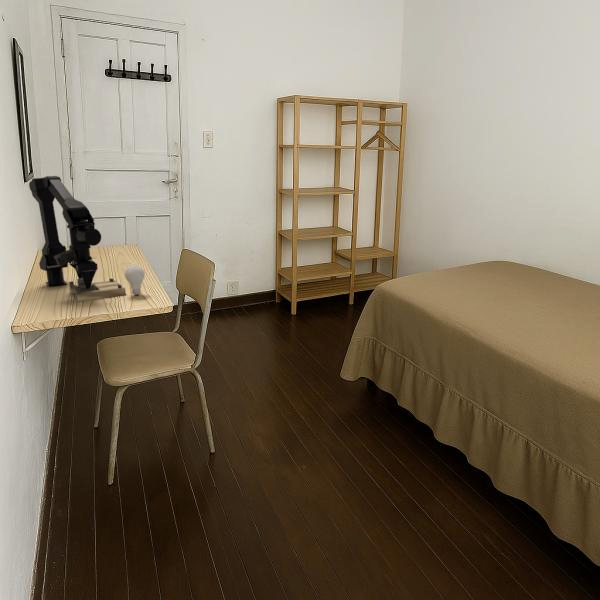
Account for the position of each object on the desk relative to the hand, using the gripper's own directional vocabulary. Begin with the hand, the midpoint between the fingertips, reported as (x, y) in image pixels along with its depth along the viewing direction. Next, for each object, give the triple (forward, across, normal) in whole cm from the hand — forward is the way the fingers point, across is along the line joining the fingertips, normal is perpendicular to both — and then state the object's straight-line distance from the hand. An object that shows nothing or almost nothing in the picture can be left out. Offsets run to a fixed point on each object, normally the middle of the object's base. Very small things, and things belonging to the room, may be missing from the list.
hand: (84, 286), depth 186 cm
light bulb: (+4, +10, +15) cm, 18 cm away
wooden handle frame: (+3, 0, +4) cm, 5 cm away
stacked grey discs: (+3, 0, 0) cm, 3 cm away
